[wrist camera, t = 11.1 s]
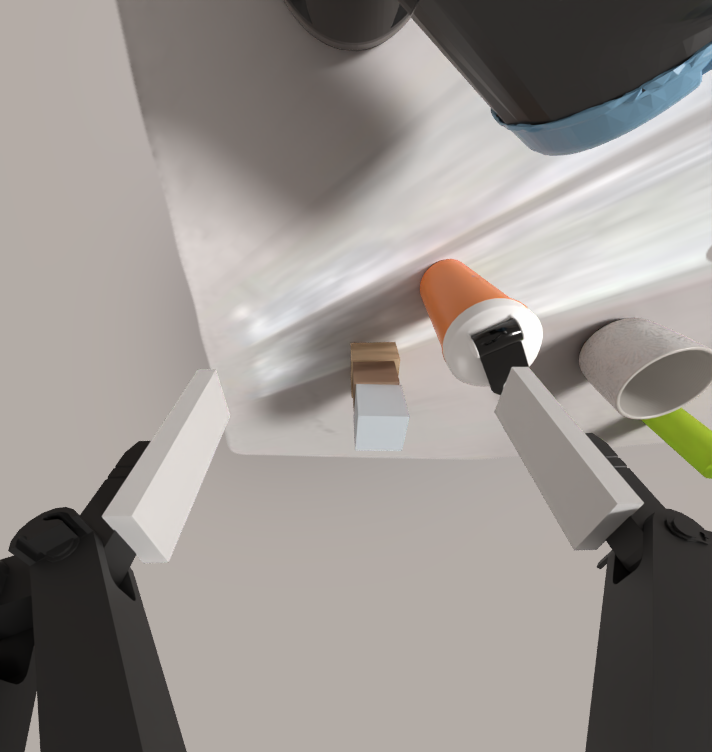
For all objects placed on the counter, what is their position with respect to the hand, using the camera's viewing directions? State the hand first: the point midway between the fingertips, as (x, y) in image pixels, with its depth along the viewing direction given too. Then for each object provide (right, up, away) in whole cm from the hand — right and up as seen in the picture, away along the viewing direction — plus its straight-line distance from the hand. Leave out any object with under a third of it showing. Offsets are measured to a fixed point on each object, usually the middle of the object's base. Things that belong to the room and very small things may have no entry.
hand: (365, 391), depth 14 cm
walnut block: (+2, 0, +32) cm, 32 cm away
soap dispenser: (+57, -6, +45) cm, 73 cm away
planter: (+41, +6, +36) cm, 55 cm away
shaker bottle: (+12, +14, +29) cm, 34 cm away
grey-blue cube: (+2, -3, +28) cm, 28 cm away
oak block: (+2, +3, +36) cm, 36 cm away
